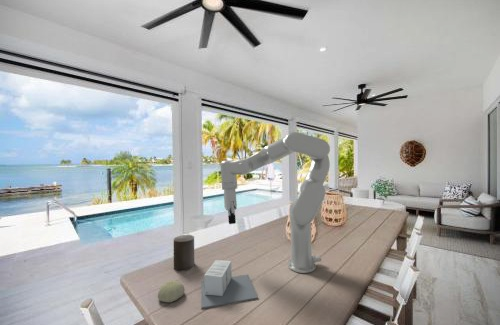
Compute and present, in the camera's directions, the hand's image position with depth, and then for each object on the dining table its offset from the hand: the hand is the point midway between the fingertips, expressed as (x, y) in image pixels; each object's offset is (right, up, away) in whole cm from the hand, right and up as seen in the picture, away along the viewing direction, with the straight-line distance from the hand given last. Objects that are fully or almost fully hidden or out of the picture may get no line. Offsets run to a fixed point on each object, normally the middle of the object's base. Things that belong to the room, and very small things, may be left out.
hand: (232, 223), depth 101 cm
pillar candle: (-23, -21, 0) cm, 31 cm away
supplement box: (-3, -16, -12) cm, 20 cm away
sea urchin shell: (-21, -21, -23) cm, 38 cm away
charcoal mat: (0, -20, -21) cm, 29 cm away
